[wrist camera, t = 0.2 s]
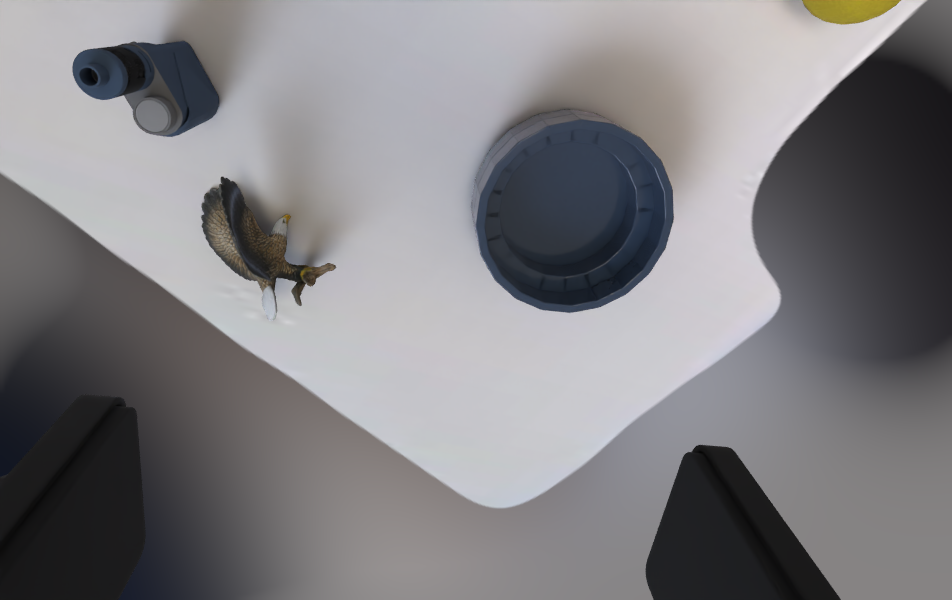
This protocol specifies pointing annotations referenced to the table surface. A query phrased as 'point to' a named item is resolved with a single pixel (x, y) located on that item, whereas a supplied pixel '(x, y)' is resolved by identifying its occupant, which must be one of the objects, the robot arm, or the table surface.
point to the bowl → (571, 211)
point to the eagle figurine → (252, 245)
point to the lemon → (848, 9)
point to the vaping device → (151, 84)
